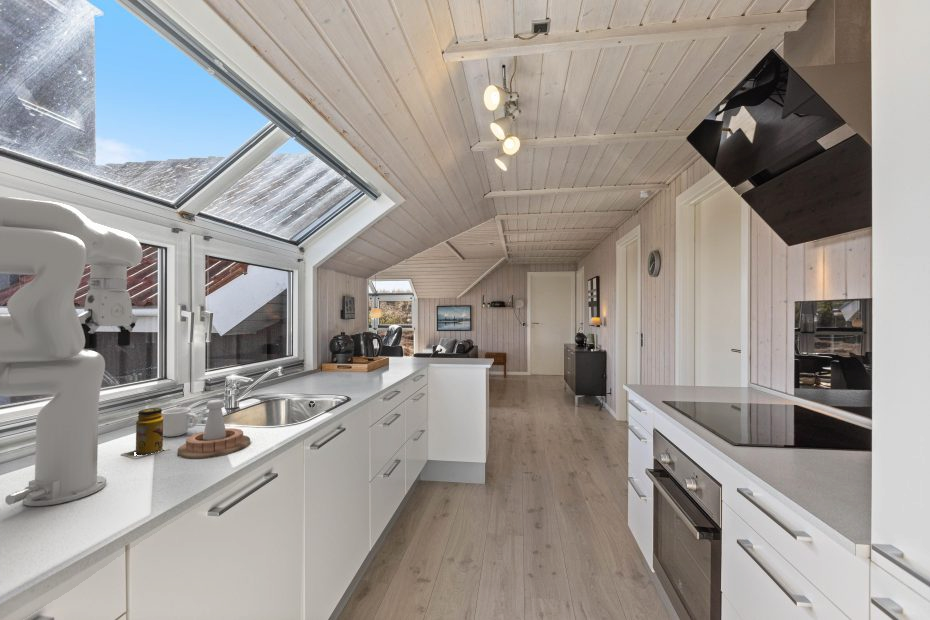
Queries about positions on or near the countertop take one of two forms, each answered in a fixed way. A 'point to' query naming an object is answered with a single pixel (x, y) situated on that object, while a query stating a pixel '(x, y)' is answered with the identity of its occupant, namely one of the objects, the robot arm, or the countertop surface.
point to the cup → (177, 421)
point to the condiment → (148, 433)
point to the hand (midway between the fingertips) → (107, 346)
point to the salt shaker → (214, 421)
